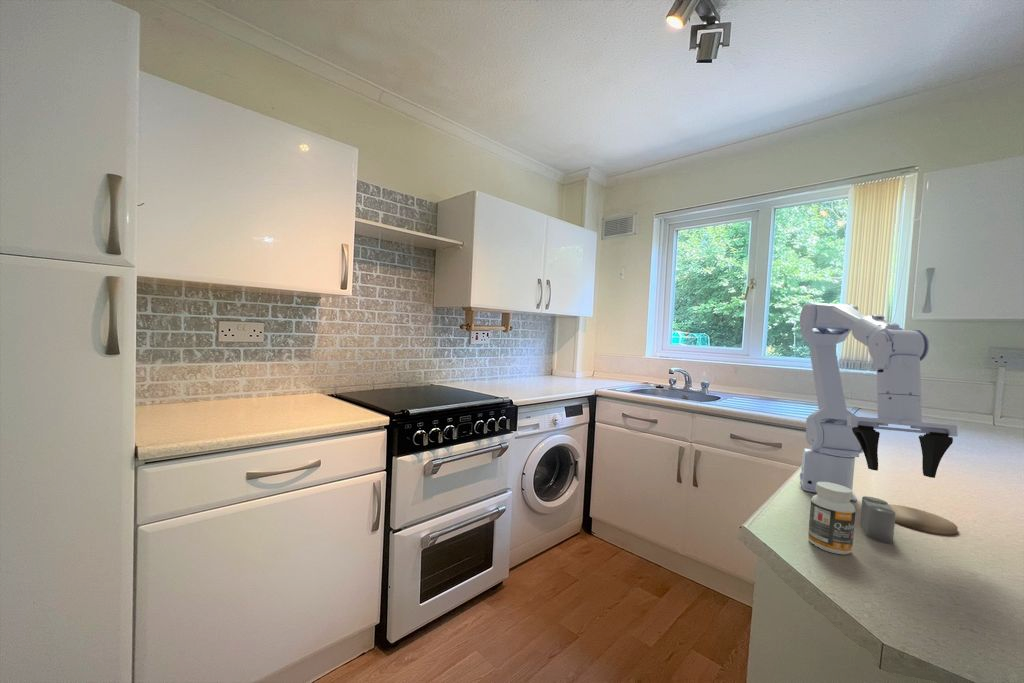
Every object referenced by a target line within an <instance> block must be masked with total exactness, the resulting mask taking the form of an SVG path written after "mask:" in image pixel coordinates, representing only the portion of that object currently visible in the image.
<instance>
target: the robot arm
mask: <svg viewBox="0 0 1024 683" xmlns="http://www.w3.org/2000/svg"><path fill="white" fill-rule="evenodd" d="M799 325H800V332H801V333H800V334H801V336H802V339H803V340H804V341H806V342H807V343H808V347H809V354H810V362H811V367H812V368H811V369H812V373H813V374H812V375H813V380H814V386H815V387H814V388H815V394H816V398H817V399H816V400H817V401H816V402H817V407H818V409H817V410H816V411H814V412H812V413H810V414H809V415H808V416H807V418H806V421H805V422H806V429H805V440H806V442H807V445H808V446H810V448H803V450H802V456H801V467H800V468H801V470H800V472H799V481H800V484H801V488H802V490H803V491H806V492H811V493H816V494H817V491H816V483H817V482H830V483H835V484H839V485H842V486H845V487H847V488H849V489H851V490H852V499H851V500H850V501H854V502H857V501H858V498H857V497H856V495H855V494H854V492H853V485H854V475H855V474H854V472H855V462H856V458H859V457H860V454H864V456H865V461H866V465H867V469H868V470H871V471H876V472H877V471H878V470H879V459H878V458H879V457H878V456H879V455H878V452H879V451H878V449H879V440H880V434H881V432H879V431H877V430H885V431H886V430H887V431H893V432H894V431H896V432H897V431H898V432H905V433H906V432H907V433H918V434H920V435H918V440H919V444H920V448H921V455H922V462H921V464H922V468H921V469H922V474H923V477H924V476H925V477H927V478H932V479H934V478H936V475H937V471H938V468H939V465H940V463H941V460H942V458H944V455H945V453H946V452H947V451H948V449H949V448H950V446H951V445H953V441H954V437H958V425H956V424H949V423H947V424H946V423H945V424H944V423H937V422H923V421H922V420H923V418H922V417H923V416H922V413H923V412H922V410H923V409H922V387H921V386H922V382H921V378H922V377H921V361H923V360H924V359H926V356H927V355H928V352H929V350H930V340H929V338H928V335H926V333H924V332H923V331H922V330H921V329H910V330H906V329H904V328H902V327H900V325H899V324H898V323H896V322H895V323H894V322H893V323H892V322H889V321H888V320H886V319H885V316H884V315H883V314H872V315H865V314H864V313H862V312H861V311H859V307H858V305H855V304H852V303H825V302H823V303H821V302H820V303H819V302H812V301H810V302H807V303H805V305H803V307H802V308H801V311H800V315H799ZM850 333H851V335H852V336H853V338H854V339H855V340H857V341H858V342H860V343H861V344H863V345H864V346H865V347H867V348H868V349H867V350H868V353H869V355H870V358H871V360H872V367H873V369H874V370H876V392H877V394H876V396H877V404H876V405H877V417H869V416H868V417H866V416H857V415H856V414H854V413H853V412H852V411H850V410H849V409H847V406H846V401H845V400H846V399H845V395H844V393H845V392H844V389H843V383H842V376H841V371H840V367H839V360H838V356H837V350H836V345H837V344H840V343H843V342H845V341H846V339H847V338H848V336H849V335H850ZM889 425H896V426H898V425H899V426H909V427H910V428H901V427H892V426H891V427H889ZM921 434H923V435H921Z"/></svg>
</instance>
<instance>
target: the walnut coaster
mask: <svg viewBox="0 0 1024 683" xmlns="http://www.w3.org/2000/svg"><path fill="white" fill-rule="evenodd" d="M888 504H889V506H890V507H891V508H892V509H893V511H894V512H895V513H896V514H895V524H897V525H900V526H902V527H906V528H910V529H913V530H917V531H921V532H925V533H929V534H933V535H942V536H943V535H944V536H954V535H956V534H957V533H958V526H957V525H956V524H955V523H954V522H953V521H950V520H948V519H946V518H944V517H942V516H940V515H936V514H934V513H931V512H929V511H926V510H923V509H922V510H921V509H918V508H914V507H910V506H906V505H899V504H893V503H892V504H890V503H888Z"/></svg>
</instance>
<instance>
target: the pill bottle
mask: <svg viewBox="0 0 1024 683" xmlns="http://www.w3.org/2000/svg"><path fill="white" fill-rule="evenodd" d="M816 491H817V493H816V494H815V495H812V497H811V499H810V509H809V510H810V511H809V520H808V521H809V524H808V533H807V534H808V540H809V542H810V543H811V544H812V545H813V544H814V545H813V546H815V547H817V548H818V547H819V548H818V549H821V550H823V551H825V552H829V553H832V554H837V555H849V554H851V553H852V552H853V545H854V533H855V521H856V508H855V506H854V504H853V503H852V502H851V501H852V500H851V499H852V491H853V489H852V490H851V489H849V488H847V487H845V486H842V485H839V484H835V483H830V482H817V483H816Z"/></svg>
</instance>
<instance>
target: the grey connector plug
mask: <svg viewBox="0 0 1024 683" xmlns="http://www.w3.org/2000/svg"><path fill="white" fill-rule="evenodd" d="M889 504H890V503H888V502H887V501H885V500H883V499H880V498H876V497H873V496H866V495H865V496H862V497H861V508H860V519H859V520H860V521H859V525H860V527H861V528H862V530H863V532H864V533H865V536H866V537H868V538H869V539H871V540H873V541H876V542H878V543H883V544H893V543H894V537H895V536H894V535H895V524H896V523H895V514H896V513H895V512H894V511H893V509H892V508H891V507H890V506H889Z"/></svg>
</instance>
